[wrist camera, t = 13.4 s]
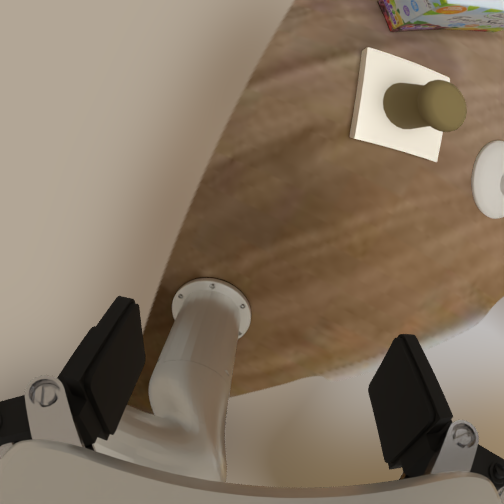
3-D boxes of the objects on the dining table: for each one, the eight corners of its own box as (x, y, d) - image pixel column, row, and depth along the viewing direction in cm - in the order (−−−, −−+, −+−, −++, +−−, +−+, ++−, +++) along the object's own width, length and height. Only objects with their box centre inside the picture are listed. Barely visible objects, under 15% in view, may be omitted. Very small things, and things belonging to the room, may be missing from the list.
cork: (373, 104, 30) (413, 101, 20) (401, 73, 28) (447, 61, 18) (406, 139, 31) (453, 151, 22) (433, 108, 29) (484, 111, 19)
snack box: (391, 36, 28) (448, 5, 14) (375, 1, 26) (422, -44, 12) (495, 34, 24) (558, 25, 10) (483, 3, 21) (541, -14, 8)
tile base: (428, 159, 34) (436, 162, 32) (349, 137, 34) (354, 138, 32) (440, 79, 29) (449, 78, 27) (361, 50, 29) (367, 47, 27)
